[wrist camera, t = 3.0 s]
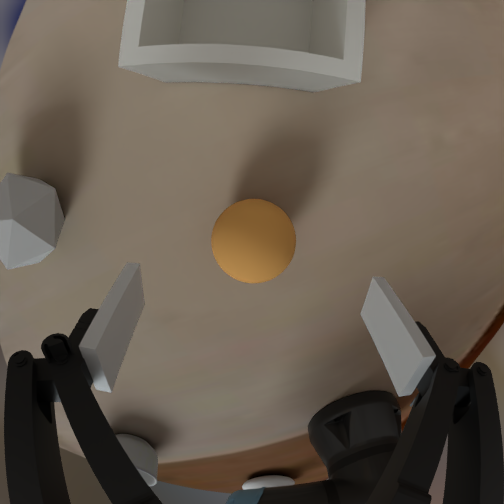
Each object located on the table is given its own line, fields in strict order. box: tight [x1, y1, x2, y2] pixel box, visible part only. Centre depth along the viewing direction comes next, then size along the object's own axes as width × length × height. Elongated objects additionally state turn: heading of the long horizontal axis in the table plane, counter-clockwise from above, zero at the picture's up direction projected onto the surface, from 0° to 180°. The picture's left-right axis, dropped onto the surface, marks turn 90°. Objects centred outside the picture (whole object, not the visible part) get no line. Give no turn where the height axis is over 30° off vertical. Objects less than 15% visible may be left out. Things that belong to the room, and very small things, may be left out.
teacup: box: [116, 434, 158, 486], centre depth 41 cm, size 14×11×8 cm
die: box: [0, 173, 65, 270], centre depth 21 cm, size 8×9×10 cm
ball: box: [211, 199, 296, 283], centre depth 24 cm, size 6×6×6 cm
